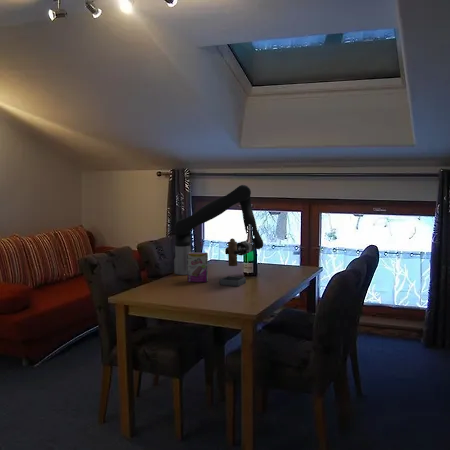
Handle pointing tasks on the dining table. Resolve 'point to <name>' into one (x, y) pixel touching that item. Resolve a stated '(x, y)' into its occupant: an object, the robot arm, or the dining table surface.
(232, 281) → the tray
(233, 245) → the pepper mill
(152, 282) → the dining table surface
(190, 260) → the candy bar box
